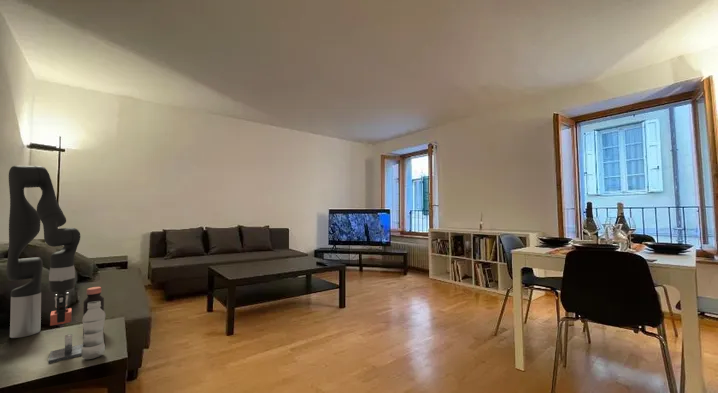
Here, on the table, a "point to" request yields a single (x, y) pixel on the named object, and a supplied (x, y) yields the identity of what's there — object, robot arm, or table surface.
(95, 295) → the vinegar
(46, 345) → the table surface
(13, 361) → the table surface
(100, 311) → the plastic bottle
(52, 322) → the link
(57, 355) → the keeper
